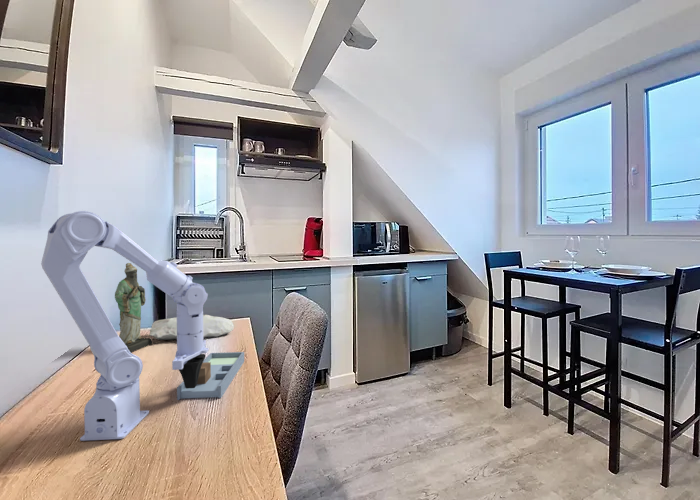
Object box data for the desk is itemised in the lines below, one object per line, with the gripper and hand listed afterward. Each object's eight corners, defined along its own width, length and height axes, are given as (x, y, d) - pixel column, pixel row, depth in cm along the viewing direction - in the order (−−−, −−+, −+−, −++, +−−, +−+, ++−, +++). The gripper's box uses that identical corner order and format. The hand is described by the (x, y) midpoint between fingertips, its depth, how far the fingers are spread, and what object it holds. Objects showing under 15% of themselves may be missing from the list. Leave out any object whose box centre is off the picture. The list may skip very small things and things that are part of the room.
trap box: (221, 398, 77) (220, 386, 77) (177, 399, 76) (176, 387, 76) (244, 361, 100) (244, 351, 100) (210, 362, 99) (210, 352, 99)
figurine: (129, 353, 107) (127, 264, 106) (103, 351, 108) (101, 263, 107) (153, 343, 117) (151, 262, 116) (129, 341, 118) (127, 261, 117)
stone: (153, 311, 130) (231, 307, 143) (153, 330, 130) (230, 324, 144) (146, 328, 111) (237, 322, 124) (146, 350, 112) (236, 341, 125)
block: (205, 383, 81) (205, 368, 81) (188, 384, 81) (188, 368, 80) (210, 377, 85) (210, 362, 85) (195, 377, 85) (195, 362, 84)
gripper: (195, 340, 70) (196, 401, 70) (217, 323, 84) (217, 373, 85) (161, 341, 69) (163, 402, 70) (189, 323, 84) (190, 374, 84)
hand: (191, 387), depth 77 cm, fingers closed
